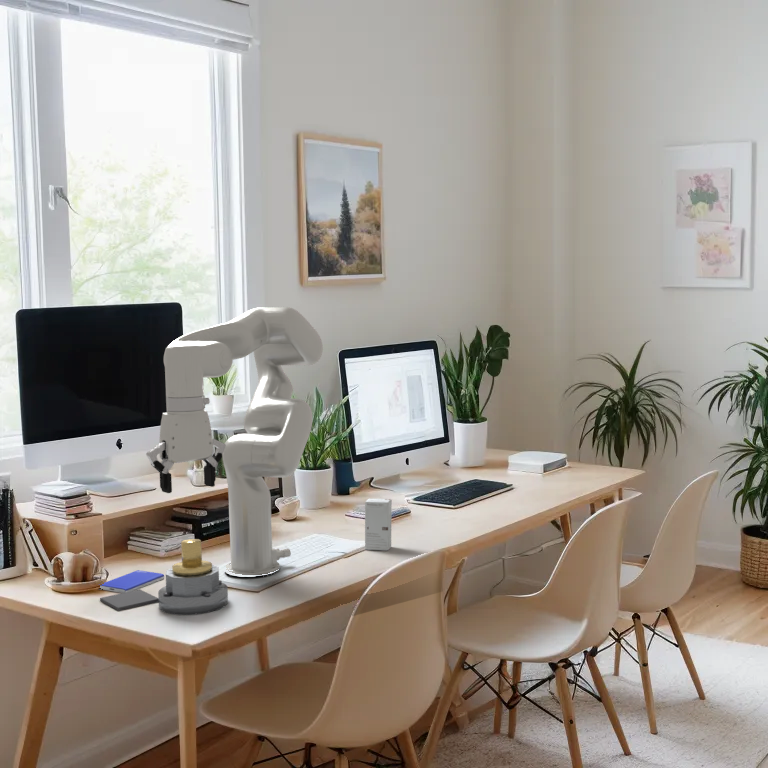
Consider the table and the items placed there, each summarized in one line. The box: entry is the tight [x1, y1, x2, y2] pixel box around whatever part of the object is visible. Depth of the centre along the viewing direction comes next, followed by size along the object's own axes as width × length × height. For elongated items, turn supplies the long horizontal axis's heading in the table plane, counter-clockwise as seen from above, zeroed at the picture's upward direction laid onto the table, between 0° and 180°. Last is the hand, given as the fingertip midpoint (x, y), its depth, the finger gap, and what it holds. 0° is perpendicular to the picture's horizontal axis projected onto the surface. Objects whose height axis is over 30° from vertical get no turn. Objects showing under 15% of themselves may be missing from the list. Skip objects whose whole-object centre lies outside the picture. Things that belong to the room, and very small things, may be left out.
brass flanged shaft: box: [171, 538, 213, 576], centre depth 207 cm, size 8×8×10 cm
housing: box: [157, 564, 229, 616], centre depth 208 cm, size 14×14×7 cm
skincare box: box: [364, 497, 393, 552], centre depth 250 cm, size 6×4×12 cm
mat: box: [99, 588, 159, 611], centre depth 211 cm, size 9×9×1 cm
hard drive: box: [99, 569, 165, 594], centre depth 224 cm, size 2×8×12 cm
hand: (188, 488), depth 206 cm, fingers open, 9 cm apart
